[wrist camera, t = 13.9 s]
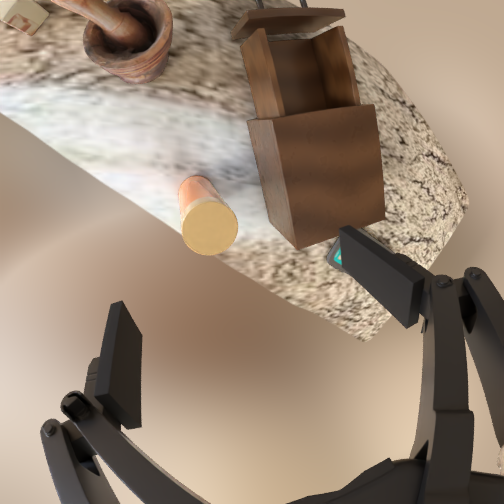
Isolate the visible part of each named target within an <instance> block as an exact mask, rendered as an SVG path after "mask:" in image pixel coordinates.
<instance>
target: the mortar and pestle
mask: <svg viewBox="0 0 504 504" xmlns="http://www.w3.org/2000/svg"><path fill="white" fill-rule="evenodd" d="M50 1H52V2H53V3H55V4H57V5H59V6H61V7H63V8H66V9H68V10H70V11H72V12H75V13H77V14H80V15H82V16H84V17H86V18H87V19H89V22H88V24H87V26H86V28H85V31H84V34H83V44H84V49H85V52H86V54H87V55H88V57H89V58H90V59H91V60H92V61H93V62H94V63H95V64H97V65H99V66H100V67H102V68H103V69H105V70H106V71H108V72H110V73H111V74H114V75H118V76H119V77H120V78H121V79H122V80H123V81H125V82H127V83H131V84H143V83H147V82H150V81H152V80H153V79H155V78H157V77H159V76H160V74H161V73H162V72H163V71H164V69H165V67H166V65H167V61H168V57H169V55H168V50H169V48H170V45H171V41H172V30H173V20H172V13H171V11H170V8H169V7H168V6H167V4H166V3H165V2H164V1H163V0H111V1H109V2H107V3H105V2H104V1H102V0H50Z"/></svg>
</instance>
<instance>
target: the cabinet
mask: <svg viewBox="0 0 504 504" xmlns="http://www.w3.org/2000/svg"><path fill="white" fill-rule="evenodd" d="M247 125H248V129H249V133H250V138H251V142H252V146H253V150H254V155H255V159H256V163H257V168H258V172H259V176H260V181H261V185H262V190H263V194H264V199H265V203H266V208H267V212H268V217H269V221H270V223H271V224H272V225H273V226H274V227H275V228H276V229H277V230H278V231H279V232H280V233H281V234H282V235H283V236H284V237H285V238H286V239H287V240H288V241H289V242H290V243H291V244H292V245H293V246H294V247H295V248H296V249H297V250H300V249H302V248H305V247H308V246H311V245H314V244H317V243H320V242H323V241H325V240H328V239H331V238H334V237H337V236H339V228H341V227H344V226H347V225H350V226H352V227H353V228H355V229H356V230H357V229H359V228H362V227H365V226H368V225H371V224H373V223H376V222H379V221H382V220H385V199H384V183H383V170H382V159H381V150H380V141H379V133H378V126H377V119H376V112H375V106H374V104H361V105H357V106H348V107H340V108H333V109H325V110H319V111H312V112H306V113H300V114H295V115H289V116H284V117H279V118H269V119H258V118H257V119H252V120H248V121H247Z"/></svg>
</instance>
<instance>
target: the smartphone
mask: <svg viewBox="0 0 504 504" xmlns="http://www.w3.org/2000/svg"><path fill="white" fill-rule="evenodd" d="M357 230H358V231H360V232H361V233H363V234H364V235H366V236H367V237H369V238H370V239H372V240H373V241H375V242H376V243H378V244H379V245H380V246H382V247H383V248H385V249H386V250H388V251H389V252H391V253H392V254H395V253H394V252H393V251H392V250H390V249H389V248H388V247H386V246H385V245H383V244H382V243H381V242H379V241H378V240H376V239H375V238H373V237H372V236H371V235H369V234H368V233H367V231H365V230H364V229H362V228H361V229H360V228H359V229H357ZM327 262H328V263H329V264H330V265H331V266H333V267H334V268H336V269H339V271H341V272H345V273H347V274H349V273H348V272H346V271H345V270H344V269H343V268H342V264H341V250H340V238H338V240H337V241H336V243H335V244H334V246H333V248H332V249H331V251H330V252H329V254H328V256H327ZM349 275H350V274H349ZM350 276H351V275H350Z"/></svg>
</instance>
